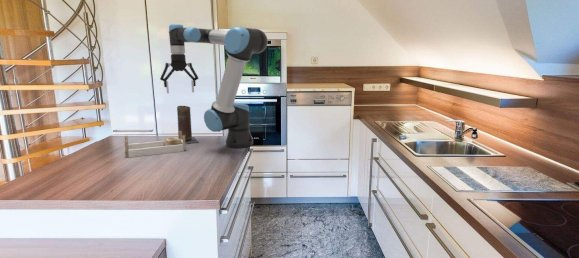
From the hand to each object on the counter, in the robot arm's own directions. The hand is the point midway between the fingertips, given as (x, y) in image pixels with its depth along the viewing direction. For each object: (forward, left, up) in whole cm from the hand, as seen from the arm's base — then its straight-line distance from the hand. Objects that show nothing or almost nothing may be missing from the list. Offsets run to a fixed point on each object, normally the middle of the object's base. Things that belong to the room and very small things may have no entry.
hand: (180, 92), depth 184 cm
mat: (0, 0, -28) cm, 28 cm away
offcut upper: (+8, +15, -26) cm, 30 cm away
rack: (+16, +15, -28) cm, 36 cm away
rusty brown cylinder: (-1, 0, -28) cm, 28 cm away
